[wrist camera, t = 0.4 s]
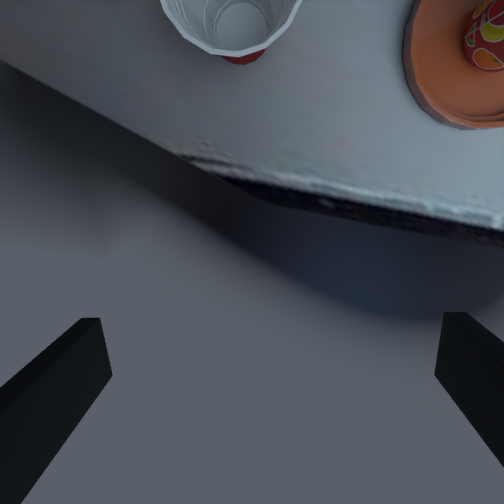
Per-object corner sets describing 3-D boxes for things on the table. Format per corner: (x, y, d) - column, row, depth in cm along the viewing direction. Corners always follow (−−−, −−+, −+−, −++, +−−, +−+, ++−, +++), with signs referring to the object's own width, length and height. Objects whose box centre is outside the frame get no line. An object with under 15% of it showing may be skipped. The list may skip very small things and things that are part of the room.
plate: (412, -60, 29) (423, -77, 27) (606, -77, 28) (633, -95, 26) (394, 133, 34) (402, 131, 32) (557, 125, 33) (577, 123, 31)
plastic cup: (312, 56, 33) (336, 2, 21) (224, 108, 35) (202, 85, 23) (266, -56, 30) (264, -187, 18) (173, 8, 32) (120, -74, 20)
